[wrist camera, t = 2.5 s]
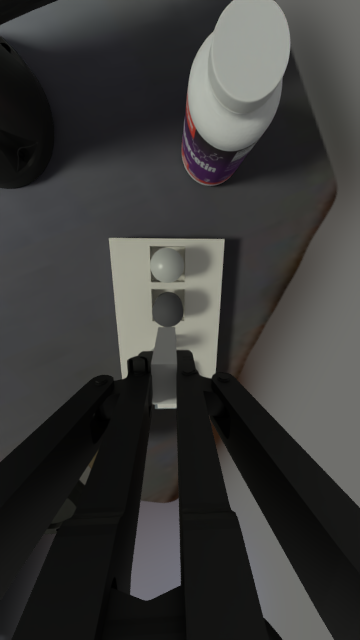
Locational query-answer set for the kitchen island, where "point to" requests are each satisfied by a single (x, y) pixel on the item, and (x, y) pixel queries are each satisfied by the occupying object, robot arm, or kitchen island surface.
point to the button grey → (167, 265)
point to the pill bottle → (234, 88)
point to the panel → (192, 288)
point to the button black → (167, 309)
